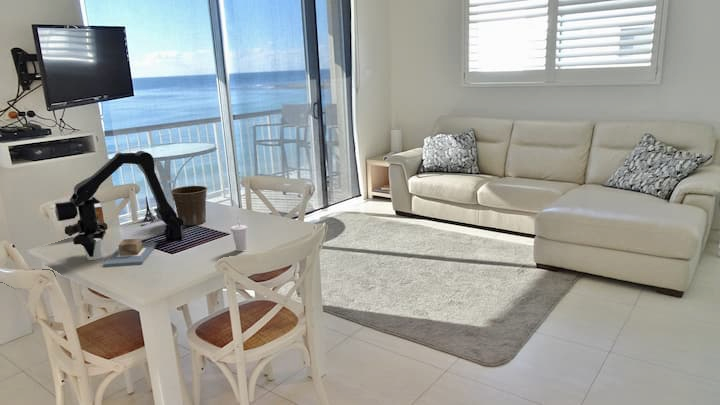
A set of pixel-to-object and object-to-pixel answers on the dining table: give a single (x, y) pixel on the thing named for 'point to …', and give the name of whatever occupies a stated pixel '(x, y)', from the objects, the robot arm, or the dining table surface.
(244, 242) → the smoothie
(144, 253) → the board
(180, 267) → the dining table surface
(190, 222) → the plant pot
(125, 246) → the walnut block
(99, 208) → the small box
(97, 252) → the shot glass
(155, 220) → the eiffel tower figurine
